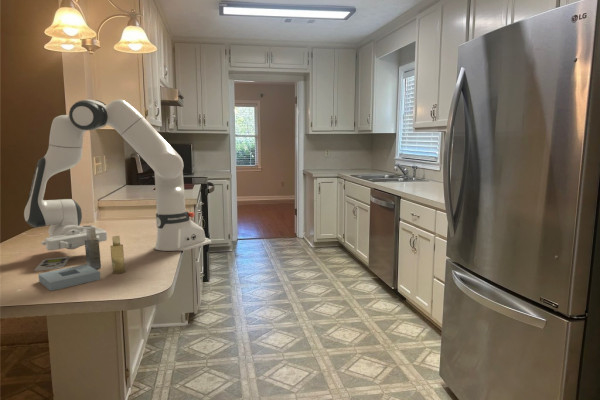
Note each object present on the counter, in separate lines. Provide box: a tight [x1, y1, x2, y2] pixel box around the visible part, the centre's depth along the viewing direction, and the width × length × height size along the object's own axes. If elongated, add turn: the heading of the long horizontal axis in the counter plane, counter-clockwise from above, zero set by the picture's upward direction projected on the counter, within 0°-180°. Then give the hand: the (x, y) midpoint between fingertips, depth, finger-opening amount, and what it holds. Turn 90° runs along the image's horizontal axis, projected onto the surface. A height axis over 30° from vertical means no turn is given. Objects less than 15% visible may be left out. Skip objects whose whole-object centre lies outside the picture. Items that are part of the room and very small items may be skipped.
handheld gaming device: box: [34, 256, 71, 272], centre depth 151 cm, size 9×1×15 cm
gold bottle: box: [109, 235, 126, 275], centre depth 139 cm, size 4×4×12 cm
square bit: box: [84, 227, 102, 270], centre depth 143 cm, size 3×3×14 cm
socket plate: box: [38, 263, 101, 292], centre depth 132 cm, size 14×12×2 cm
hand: (83, 242), depth 149 cm, fingers open, 8 cm apart
